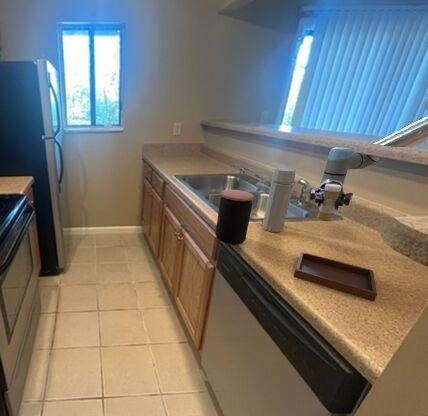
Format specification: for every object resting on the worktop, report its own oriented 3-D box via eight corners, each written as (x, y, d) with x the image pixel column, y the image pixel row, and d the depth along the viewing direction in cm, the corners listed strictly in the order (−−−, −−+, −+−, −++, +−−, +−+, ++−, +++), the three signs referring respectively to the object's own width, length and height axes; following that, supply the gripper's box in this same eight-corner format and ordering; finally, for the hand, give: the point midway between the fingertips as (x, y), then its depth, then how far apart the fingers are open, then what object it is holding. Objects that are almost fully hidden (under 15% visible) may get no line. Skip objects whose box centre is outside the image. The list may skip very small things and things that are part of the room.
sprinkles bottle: (317, 216, 106) (327, 182, 101) (332, 219, 103) (343, 185, 98) (314, 219, 103) (324, 185, 98) (329, 222, 100) (340, 187, 95)
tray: (370, 277, 81) (373, 270, 80) (374, 301, 71) (377, 294, 70) (299, 257, 91) (300, 251, 91) (293, 276, 82) (295, 269, 81)
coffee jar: (224, 230, 112) (231, 187, 105) (250, 239, 104) (259, 194, 97) (209, 237, 106) (215, 193, 100) (235, 248, 98) (244, 200, 91)
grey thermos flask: (262, 223, 117) (274, 166, 108) (284, 228, 112) (298, 168, 103) (258, 231, 110) (271, 170, 101) (281, 236, 106) (297, 173, 97)
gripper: (355, 202, 109) (357, 220, 93) (303, 194, 120) (296, 209, 103) (361, 183, 107) (364, 199, 90) (307, 177, 117) (301, 190, 100)
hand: (328, 204), depth 97 cm, fingers closed on sprinkles bottle, 4 cm apart
